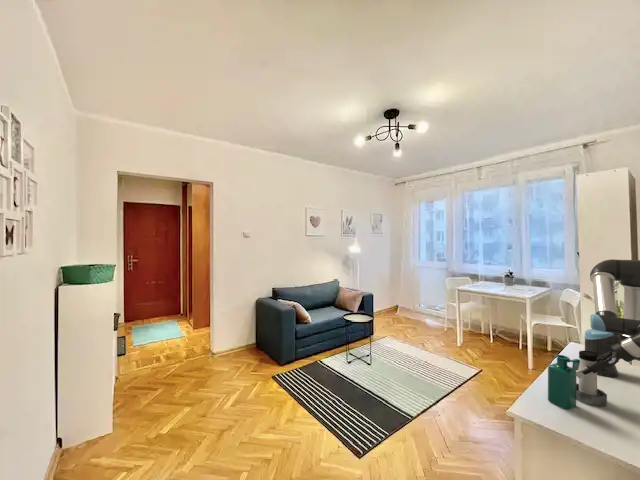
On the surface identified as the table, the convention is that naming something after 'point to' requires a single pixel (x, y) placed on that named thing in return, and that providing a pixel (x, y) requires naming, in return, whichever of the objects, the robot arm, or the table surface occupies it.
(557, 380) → the green bottle
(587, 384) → the travel mug
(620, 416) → the table surface
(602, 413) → the table surface
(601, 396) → the ring collar
